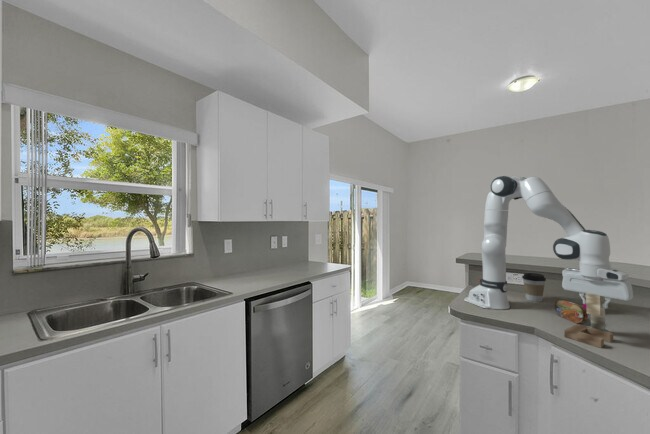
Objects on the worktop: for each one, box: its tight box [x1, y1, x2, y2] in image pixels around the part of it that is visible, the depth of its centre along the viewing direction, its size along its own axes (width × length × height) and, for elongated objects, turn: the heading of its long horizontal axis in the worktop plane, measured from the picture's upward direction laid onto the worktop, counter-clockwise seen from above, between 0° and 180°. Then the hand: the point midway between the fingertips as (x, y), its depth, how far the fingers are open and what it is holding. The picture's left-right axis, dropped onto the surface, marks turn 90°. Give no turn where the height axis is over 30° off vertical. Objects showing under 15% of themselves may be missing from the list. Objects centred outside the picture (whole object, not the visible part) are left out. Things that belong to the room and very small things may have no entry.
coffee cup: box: [521, 272, 547, 303], centre depth 161 cm, size 11×11×15 cm
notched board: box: [564, 323, 614, 349], centre depth 111 cm, size 11×12×3 cm
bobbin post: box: [587, 297, 610, 332], centre depth 117 cm, size 7×7×18 cm
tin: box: [554, 299, 589, 324], centre depth 131 cm, size 15×3×8 cm, turn 1°
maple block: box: [586, 293, 604, 316], centre depth 109 cm, size 4×4×8 cm
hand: (595, 306), depth 109 cm, fingers closed on maple block, 4 cm apart
